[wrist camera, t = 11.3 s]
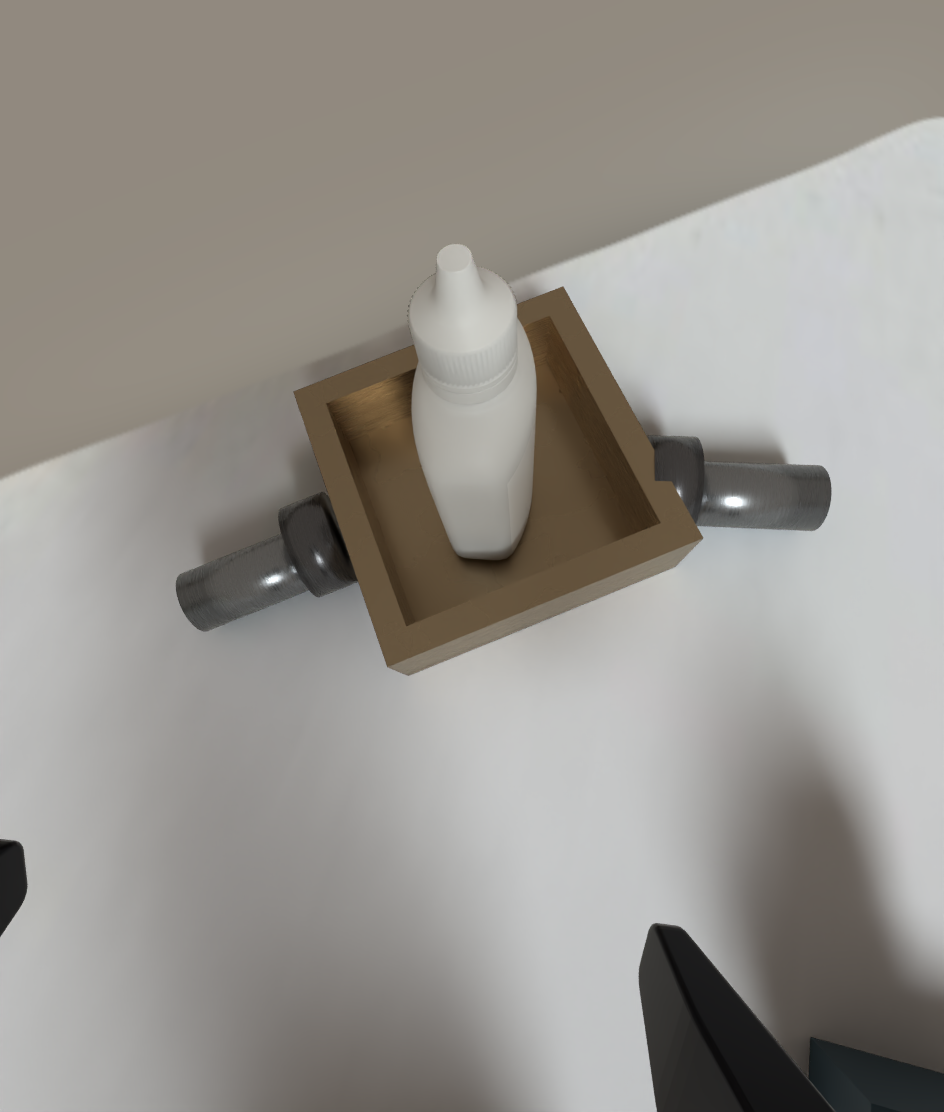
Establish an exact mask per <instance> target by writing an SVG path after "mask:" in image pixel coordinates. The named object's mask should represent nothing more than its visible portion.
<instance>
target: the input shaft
mask: <svg viewBox="0 0 944 1112" xmlns="http://www.w3.org/2000/svg"><path fill="white" fill-rule="evenodd" d="M279 525H280V530H281V534H280V535H277V536H275V537H272V538H270V539H267V540H265V541H262V542H260V543H257V544H255V545H252V546H250V547H247V548H245V549H242V550H240V551H237V552H235V553H232V554H230V555H227V556H225V557H222V558H220V559H217V560H215V561H212V562H210V563H207V564H205V565H202V566H200V567H197V568H195V569H192V570H189V571H187V572H184V573H182V574H180V575H179V576H178V578H177V581H176V592H177V597H178V600H179V603H180V606H181V608H182V610H183V612H184V614H185V615H186V617H187V618H188V620H189V621H190V622H191V623H192V624H193V625H194V626H195V627H196V628H197V629H199V630H201V631H209V630H212V629H214V628H217V627H219V626H222V625H224V624H227V623H229V622H232V621H234V620H237V619H239V618H241V617H244V616H246V615H249V614H251V613H254V612H256V611H259V610H261V609H264V608H266V607H269V606H271V605H274V604H276V603H279V602H281V601H284V600H286V599H289V598H291V597H294V596H296V595H299V594H301V593H304V592H306V591H310V592H311V593H312V594H313V595H315V596H316V597H322V596H324V595H327V594H329V593H332V592H334V591H337V590H339V589H342V588H344V587H347V586H349V585H352V584H354V583H356V582H358V579H357V577H356V574H355V571H354V568H353V565H352V562H351V559H350V556H349V553H348V550H347V547H346V544H345V541H344V538H343V536H342V533H341V530H340V527H339V524H338V521H337V518H336V515H335V512H334V509H333V506H332V503H331V500H330V498H329V497H328V496H327V495H326V494H325V493H324V492H321V493H319V494H316V495H314V496H311V497H309V498H306V499H304V500H301V501H299V502H296V503H293V504H291V505H288V506H286V507H283V508H281V509H280V510H279Z"/></svg>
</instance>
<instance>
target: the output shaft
mask: <svg viewBox="0 0 944 1112" xmlns="http://www.w3.org/2000/svg"><path fill="white" fill-rule="evenodd" d="M647 438H648V440H649V441H650V443H651V445H652V447H653V449H654V450H655V481H672V483H673V485H674V486H675V488H676V490H677V492H678V494H679V495H680V497H681V499H682V501H683V502H684V504H685V506H686V508H687V510H688V511H689V513H690V515H691V517H692V519H693V520H694V522H695V524H696V526H709V527H732V528H754V529H777V530H800V531H814V530H816V529H818V528H819V527H820V526H821V525H822V523H823V522H824V520H825V518H826V516H827V513H828V510H829V507H830V502H831V482H830V477H829V475H828V472H827V471H826V469H825V468H824V467H822V466H820V465H792V464H762V463H731V462H704V455H703V449H702V445H701V443H700V441H699V439H698V438H697V437H688V436H652V435H649V436H647ZM647 526H648V525H647ZM645 529H647V527H646V528H645Z"/></svg>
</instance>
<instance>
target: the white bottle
mask: <svg viewBox="0 0 944 1112" xmlns="http://www.w3.org/2000/svg"><path fill="white" fill-rule="evenodd" d="M407 316H408V323H409V328H410V332H411V335H412V339H413V342H414V346H415V349H416V353H417V356H418V360H419V361H418V364H417V368H416V372H415V376H414V382H413V389H412V405H411V411H412V425H413V433H414V439H415V444H416V448H417V452H418V456H419V460H420V463H421V466H422V469H423V472H424V475H425V478H426V481H427V484H428V487H429V489H430V492H431V495H432V497H433V500H434V502H435V505H436V507H437V510H438V513H439V515H440V518H441V520H442V523H443V525H444V528H445V530H446V533H447V535H448V538H449V540H450V543H451V545H452V548H453V550H454V551H455V552H456V553H457V555H458V556H461V557H464V558H470V559H484V560H502V559H507V558H508V557H509V556H510V555H511V554H512V553H513V552H514V550H515V548H516V547H517V545H518V543H519V541H520V539H521V537H522V534H523V532H524V529H525V526H526V523H527V520H528V516H529V512H530V507H531V500H532V488H533V466H534V444H535V422H536V395H537V385H536V371H535V363H534V358H533V354H532V350H531V346H530V343H529V340H528V338H527V335H526V333H525V331H524V328H523V326H522V325H521V323H520V321H519V320H518V318H517V305H516V300H515V295H514V294H513V291H512V290H511V287H510V286H509V285H508V283H507V282H505V280H504V279H503V278H501V276H499V275H497V274H496V273H494V272H492V271H490V270H488V269H485V268H482V267H478V266H476V265H475V262H474V260H473V256H472V254H471V251H470V250H469V249H468V248H467V247H466V246H464V245H461V244H450V245H447V246H445V247H444V248H442V249H441V250H440V251H439V253H438V255H437V260H436V273H435V274H433V275H431V276H430V277H429V278H427V279H426V280H425V281H424V282H423V283H422V284H421V285H420V286H419V287H418V288H417V290H416V291H415V292H414V295H413V296H412V299H411V300H410V305H409V309H408V315H407Z"/></svg>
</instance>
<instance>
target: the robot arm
mask: <svg viewBox="0 0 944 1112" xmlns="http://www.w3.org/2000/svg"><path fill="white" fill-rule="evenodd" d="M26 893H27V875H26V867H25V858H24V849H23V846H22V845H21V844H20V842H17V841H13V840H5V839H0V937H1V935H2V934H3V932H4V931H5V929H6V928H7V926H8V925H9V923H10V922H11V920H12V919H13V917H14V916H15V914H16V913H17V911H18V910H19V908H20V907H21V905H22V903H23V901H24V899H25V896H26ZM639 988H640V996H641V1003H642V1010H643V1017H644V1024H645V1031H646V1038H647V1045H648V1052H649V1059H650V1067H651V1074H652V1081H653V1088H654V1095H655V1102H656V1108H657V1112H836V1111H835V1110H834V1109H833V1108H832V1107H831V1105H830V1104H829V1103H828V1102H827V1101H826V1099H825V1098H824V1097H823V1096H822V1095H821V1093H820V1092H819V1091H818V1090H817V1089H816V1087H815V1086H814V1085H813V1084H812V1083H811V1081H810V1080H809V1079H808V1078H807V1077H806V1075H805V1074H804V1073H803V1072H802V1071H801V1069H800V1068H799V1067H798V1066H797V1065H796V1063H795V1062H794V1061H793V1060H792V1059H791V1057H790V1056H789V1055H788V1054H787V1053H786V1051H785V1050H784V1049H783V1048H782V1047H781V1045H780V1044H779V1043H778V1042H777V1041H776V1039H775V1038H774V1037H773V1036H772V1035H771V1033H770V1032H769V1031H768V1030H767V1029H766V1027H765V1026H764V1025H763V1024H762V1023H761V1021H760V1020H759V1019H758V1018H757V1016H756V1015H755V1014H754V1013H753V1012H752V1010H751V1009H750V1008H749V1007H748V1006H747V1004H746V1003H745V1002H744V1001H743V1000H742V998H741V997H740V996H739V995H738V994H737V992H736V991H735V990H734V989H733V988H732V986H731V985H730V984H729V983H728V982H727V980H726V979H725V978H724V977H723V976H722V974H721V973H720V972H719V971H718V970H717V968H716V967H715V966H714V965H713V964H712V962H711V961H710V960H709V959H708V958H707V956H706V955H705V954H704V953H703V952H702V950H701V949H700V948H699V947H698V946H697V944H696V943H695V942H694V941H693V940H692V938H691V937H690V936H689V935H688V934H687V932H686V931H685V930H683V929H682V928H681V927H679V926H675V925H667V924H659V923H655V924H652V925H651V927H650V929H649V931H648V935H647V939H646V943H645V947H644V950H643V954H642V958H641V962H640V966H639Z"/></svg>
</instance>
